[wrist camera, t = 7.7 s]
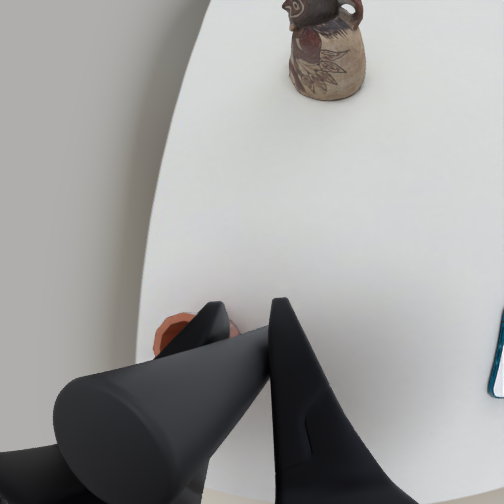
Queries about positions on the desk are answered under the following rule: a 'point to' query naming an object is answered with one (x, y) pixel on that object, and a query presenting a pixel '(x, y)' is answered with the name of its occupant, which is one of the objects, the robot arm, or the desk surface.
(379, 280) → the desk surface
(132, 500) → the dark grey rod
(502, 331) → the smartphone
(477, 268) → the desk surface
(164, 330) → the stylus holder
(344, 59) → the figurine
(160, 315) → the desk surface
